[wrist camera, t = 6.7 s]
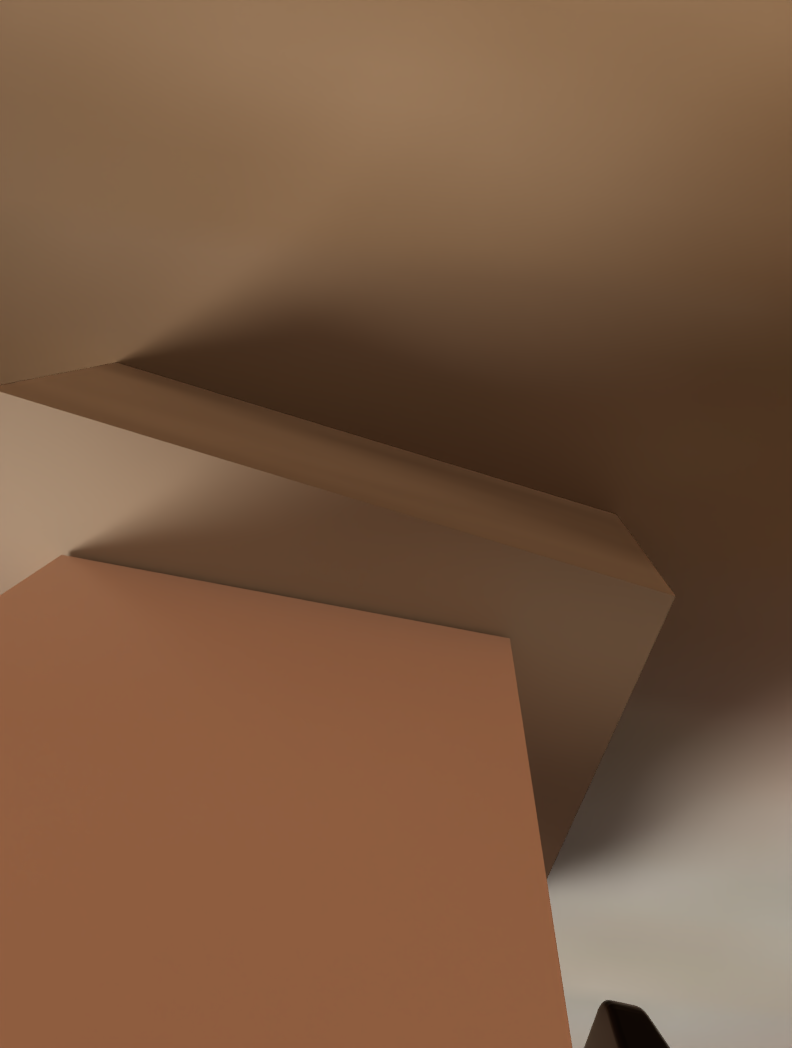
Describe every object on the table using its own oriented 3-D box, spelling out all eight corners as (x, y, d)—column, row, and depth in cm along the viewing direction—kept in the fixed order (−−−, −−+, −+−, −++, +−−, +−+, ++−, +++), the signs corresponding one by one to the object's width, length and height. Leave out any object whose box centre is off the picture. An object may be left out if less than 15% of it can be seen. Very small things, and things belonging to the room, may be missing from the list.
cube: (427, 978, 11) (397, 1683, 6) (55, 904, 11) (-346, 1513, 6) (509, 638, 9) (593, 1176, 4) (61, 554, 10) (-530, 944, 4)
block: (457, 885, 16) (457, 1074, 12) (60, 767, 16) (-69, 919, 12) (611, 507, 13) (675, 596, 9) (127, 360, 13) (-14, 388, 9)
